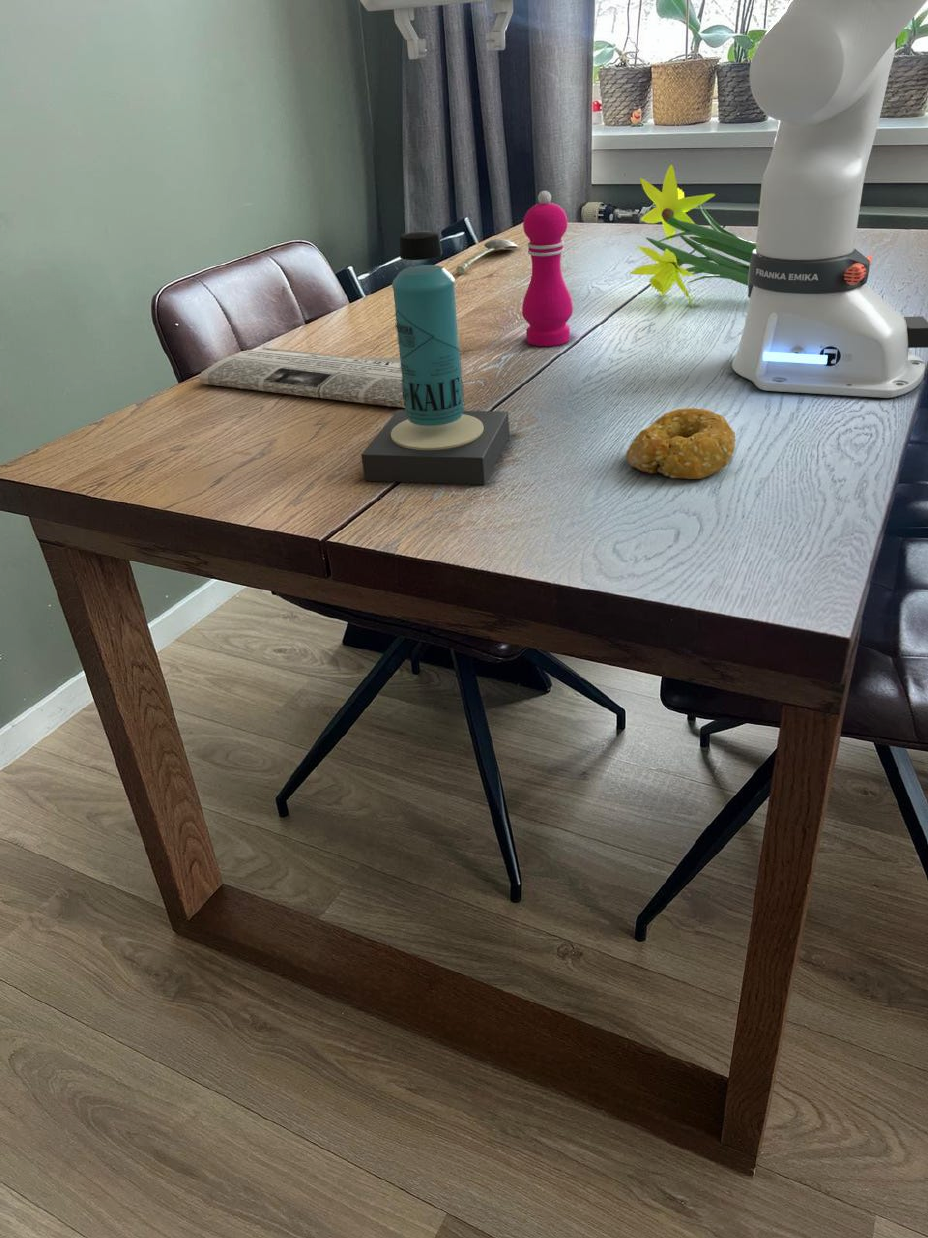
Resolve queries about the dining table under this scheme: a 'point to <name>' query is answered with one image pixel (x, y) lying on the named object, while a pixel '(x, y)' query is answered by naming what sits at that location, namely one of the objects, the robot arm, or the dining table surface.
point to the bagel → (684, 444)
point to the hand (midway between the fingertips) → (457, 54)
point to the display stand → (437, 449)
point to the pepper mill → (546, 275)
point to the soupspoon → (491, 247)
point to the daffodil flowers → (689, 241)
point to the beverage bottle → (427, 334)
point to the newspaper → (311, 375)
